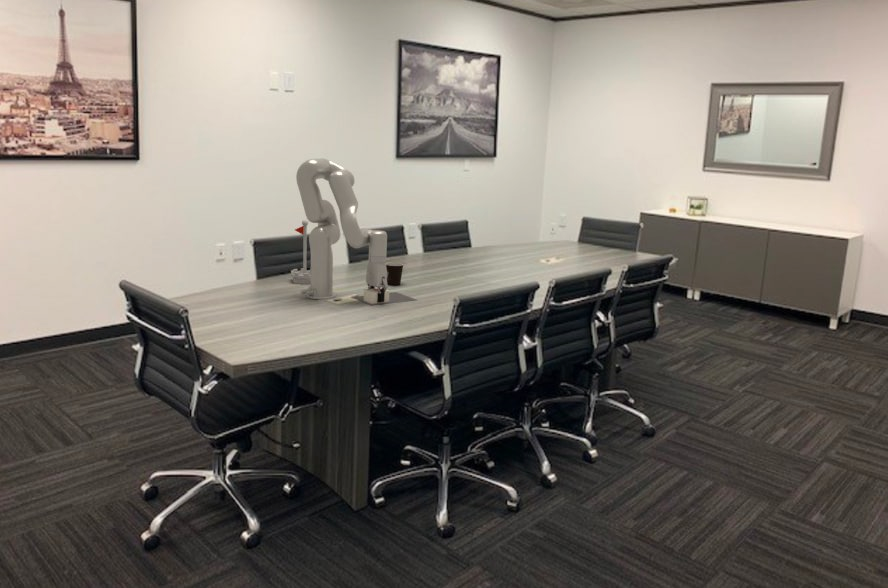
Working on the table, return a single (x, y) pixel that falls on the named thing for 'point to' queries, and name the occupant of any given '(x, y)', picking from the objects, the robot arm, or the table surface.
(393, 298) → the mat
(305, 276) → the flag stand
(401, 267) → the coffee mug
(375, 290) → the card box
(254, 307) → the table surface
